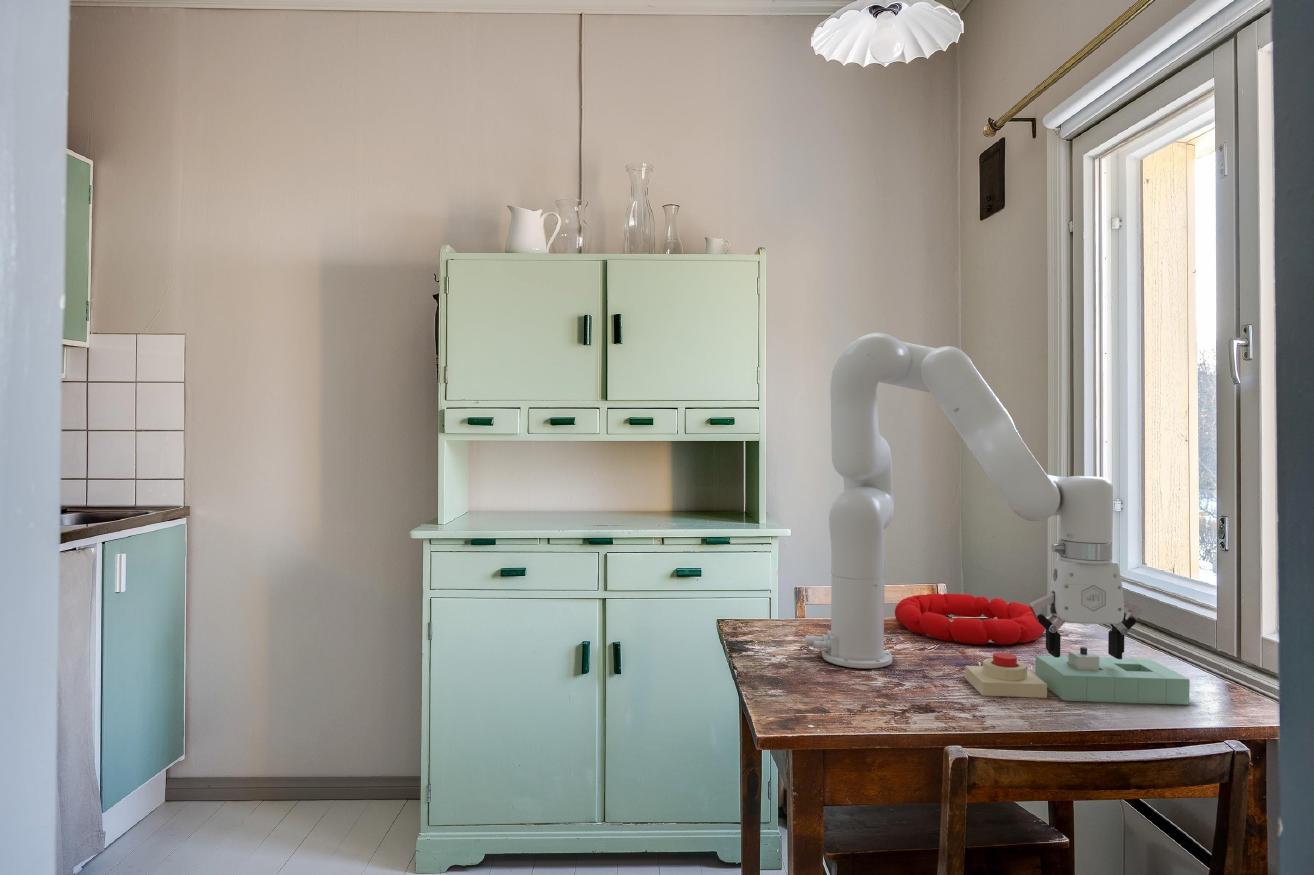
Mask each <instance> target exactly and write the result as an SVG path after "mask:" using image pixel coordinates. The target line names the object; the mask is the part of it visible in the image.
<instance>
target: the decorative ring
mask: <svg viewBox="0 0 1314 875" xmlns="http://www.w3.org/2000/svg"><path fill="white" fill-rule="evenodd" d="M951 615H952V616H954V617H955V618H953V620H952V621H951V620H950V619H949V617H947V616H951ZM982 615H983V616H984V617H985V618H987V619H984V620H982V619H980V617H981V616H982ZM894 617H895V619H896V621H897V623H898V624H900V625H901V626H903V627H905V628H906V629H907V630H909V631H910V632H912V633H915V634H918V635H928V636H930V637H931V638H934V639H937V640H939V641H944V642H945V641H947V642H949V641H956V642H959V643H962V644H968V645H979V646H983V645H987V644H989V641H992V643H994V644H995V645H998V646H999V645H1000V646H1011V645H1014V644H1016V643H1017V644H1026V643H1030V642H1032V641H1036V640H1037V639H1039V638H1040V637H1042V636H1043V635H1044V632H1046V629H1045V628H1043V626H1042V625H1041V624H1040V623H1039V622H1038V621H1037V620H1036V619H1035V616H1034V614H1033V613H1032V611H1031V609H1030V607H1029V605H1027V604H1024V603H1020V602H1017V601H1011V602H1009V603H1007V602H1006V601H1005V600H1004V599H1002V598H1000V597H999V598H998V597H995V598H993V599H991V600H989V599H988V597H987V596H977V597H975V596H974V595H972V594H963V593H943V594H942V593H927V594H916V595H912V596H908V597H906V598H903V599H901V600H900V601H898V603H897V604H896V605H895V608H894Z"/></svg>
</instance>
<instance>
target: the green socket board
mask: <svg viewBox="0 0 1314 875" xmlns="http://www.w3.org/2000/svg"><path fill="white" fill-rule="evenodd" d="M1098 657H1099V670H1077V669H1075V668H1074V667H1072V666H1071V665H1069V664H1068V655H1067V656H1065V655H1064V656H1062V655H1060V657H1059V658H1056V657H1054V656H1052V655H1035V657H1034V658H1035V659H1034V660H1035V661H1034V662H1035V664H1034V665H1035V666H1034V675H1036V676H1037V677H1038V678H1040V679H1041V680H1042V681H1044V682H1045V683H1046V684H1047V690H1049V691H1051V692H1052V693H1054V695H1055V696H1057V697H1058V698H1060V699H1061V700H1063V701H1070V702H1096V703H1097V702H1098V703H1100V702H1102V703H1129V704H1152V705H1156V704H1157V705H1181V706H1183V705H1184V706H1185V705H1187V706H1189V705H1190V681H1191V680H1190V678H1188V677H1186V676H1184V675H1182V674H1180V673H1178V672H1176V671H1174V670H1173V669H1171V668H1169V667H1167V666H1164V665H1163V664H1161V663H1159V662H1157V661H1155V660H1153V659H1151V658H1136V657H1135V658H1134V657H1133V658H1131V657H1130V658H1129V657H1122V659H1116V658H1115V657H1102V656H1101V657H1100V656H1098Z"/></svg>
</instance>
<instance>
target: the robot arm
mask: <svg viewBox="0 0 1314 875" xmlns="http://www.w3.org/2000/svg"><path fill="white" fill-rule="evenodd" d="M879 383H882V384H888V385H893V386H896V387H902V388H907V389H910V390H915V391H920V392H924V393H929V394H930V395H931V396H932V397H933V398H934V400H935V401H936V403H937V404H938V405H939V406H940V408H941V409H942V411H943V413H944V414H945V415H946V417H947V418H948V419H949V421H950V423H951V424H952V426H953V428H955V430H956V431H957V433H958V434H959V435H960V437H961V439H962V440H963V442H964V443H965V445H966V446H967V448H968V450H970V452H971V453H972V455H973V456H974V457H975V458H976V459H977V461H978V462H979V464H980V465H981V467H982V468H983V470H984V471H985V473H986V475H987V476H988V477H989V479H990V481H991V482H992V484H993V485H994V486H995V488H996V489H997V491H998V492H999V493H1000V495H1001V496H1002V498H1003V499H1004V500H1005V502H1006V503H1007V505H1008V506H1009V508H1010V509H1011V510H1012V511H1013V512H1014V514H1015V515H1017V516H1018V517H1019V518H1021V519H1023V520H1026V521H1029V522H1041V521H1045V520H1047V519H1049V518H1051V517H1053V516H1054V517H1055V516H1059V518H1060V521H1059V522H1060V524H1059V525H1060V527H1059V539H1058V543H1052V544H1051V552H1052V553H1057V554H1058V556H1059V557H1056V558H1055V560H1054V566H1053V569H1052V574H1051V579H1050V590H1049V593H1048V594H1046V595H1044V596H1042V597H1040V598H1037V599H1035V600H1034V601H1032V602H1030V603H1029V604H1028V606H1029V607H1030V609H1031V611H1032V613H1033V614H1034V616H1035V619H1036V620H1037V621H1038V622H1039V623H1040V624H1041V625H1042V626H1043V628H1045V649H1046V650H1047V652H1048V654H1049V655H1050V656H1054V657H1056V658H1059V657H1060V656H1061V638H1062V637H1061V633H1060V632H1058V630H1059V629H1060V628H1061V627H1062V626H1063V625H1064V624H1065V623H1068V624H1079V625H1081V624H1086V625H1109V627H1110V628H1111V629H1110V630H1109V631H1108V634H1107V635H1108V637H1107V638H1108V639H1107V640H1108V642H1107V644H1108V646H1107V647H1108V648H1107V653H1108V655H1110V656H1111V657H1112V658H1116V659H1122V658H1123V654H1124V653H1125V636H1126V635H1128V633H1129V630H1131V629H1132V628H1133V627H1134V626H1135V625H1136V623H1137V620H1138V619H1139V617H1140V615H1141V613H1142V612H1143V609H1142V607H1141V606H1140V605H1138V604H1136V603H1134V602H1132V601H1130V600H1128V599H1127V598H1125V597H1124V588H1123V582H1122V576H1121V570H1120V566H1119V562H1117V561H1115V560H1113V528H1114V527H1113V523H1114V522H1113V521H1114V517H1113V515H1114V487H1113V485H1114V484H1113V483H1112V481H1111V480H1110V479H1109V478H1106V477H1104V476H1093V475H1092V476H1091V475H1070V476H1059V475H1051V474H1047V473H1046V471H1045V470H1044V468H1043V467H1042V466H1041V465H1040V463H1039V461H1038V460H1037V459H1036V457H1035V455H1034V454H1033V453H1032V452H1031V450H1030V449H1029V447H1028V446H1027V444H1026V443H1025V442H1024V440H1023V438H1022V437H1021V434H1019V432H1018V429H1017V427H1016V425H1015V422H1014V420H1013V418H1012V417H1011V415H1010V413H1009V411H1008V410H1007V409H1006V408H1005V407H1004V405H1003V404H1002V402H1001V401H1000V400H999V398H998V397H997V396H996V394H995V392H994V391H993V390H992V388H991V387H990V386H989V384H988V383H987V382H986V380H985V379H984V378H983V376H982V375H981V373H980V372H979V371H978V369H977V368H976V366H975V365H974V364H973V361H972V359H971V358H970V357H969V356H968V355H967V354H966V353H965V352H964V351H963V350H962V349H960V348H958V347H956V346H951V345H943V346H940V347H931V346H926V345H921V344H916V343H911V342H907V341H902V340H899V339H898V338H896V337H895V336H893V335H891V334H888V333H885V332H871V333H867V334H864V335H862V336H860V337H858V338H857V339H855V340H853V341H852V342H850V344H848V345H847V346H846V347H845V348H844V349H843V350H842V352H840V353H839V355H838V357H837V358H836V360H835V363H834V365H833V368H832V371H831V377H830V386H829V388H830V390H829V392H830V393H829V394H830V434H831V462H832V465H833V468H834V470H835V472H837V474H838V475H840V477H842V479H843V492H842V493H840V494H839V495H838V496H836V498H835V499H834V501H833V503H832V504H831V506H830V510H829V513H828V514H829V516H828V529H829V538H830V549H831V550H830V552H831V553H830V554H831V558H830V559H831V563H830V564H831V566H830V568H831V569H830V572H831V573H830V574H831V584H830V586H831V587H830V588H831V590H830V591H831V592H830V594H831V595H830V596H831V597H830V605H831V606H830V610H831V611H830V629H827V632H826V633H827V634H825V633H823V634H822V635H820V636H816V635H807V634H806V635H805V637H804V645H805V647H813V649H822V651H821V657H822V659H823V660H825V662H828V663H830V664H833V665H836V666H840V667H845V668H852V669H866V670H867V669H878V668H879V669H880V668H884V667H885V668H886V667H888V666H890V665H891V664H893V660H894V659H893V658H894V657H893V654H892V653H891V652H890V651H888V650H885V588H886V586H885V584H886V583H885V581H886V580H885V579H886V578H885V572H886V571H885V570H886V569H885V567H886V566H885V565H886V564H885V542H884V530H885V529H887V528H888V527H889V525H890V524H891V522H892V520H893V517H894V514H895V498H894V496H895V495H894V478H893V477H894V476H893V474H894V473H893V457H892V452H891V447H890V445H889V443H888V441H887V440H886V438H885V437H884V436H882V435H881V433H880V428H879V404H878V398H877V389H878V385H879ZM1048 606H1049V612H1050V615H1049V616H1048V617H1046V616H1045V614H1044V612H1043V609H1044V608H1046V607H1048ZM1125 609H1127V612H1126V615H1125Z"/></svg>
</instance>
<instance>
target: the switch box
mask: <svg viewBox="0 0 1314 875" xmlns="http://www.w3.org/2000/svg"><path fill="white" fill-rule="evenodd" d="M964 679H966V681H967V682H968V684H970V685H971V686H972V687H973V688H974V689H975V690H976V691H977V692H978V693H980V695H981V696H985V697H986V696H987V697H1012V698H1013V697H1014V698H1044V699H1046V698H1048V688H1047V684H1046V683H1045V682H1044V681H1042V680H1041V679H1040V678H1038V677H1037V676H1036V675H1035V673H1033V672H1032V671H1030V670H1029V669H1028V665H1027V664H1026V663H1024V662H1022V661H1018V660H1017V667H1001V666H997V665H994V664H993V657H991V658H985V659H984V660H983V661H982V665H964Z"/></svg>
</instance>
